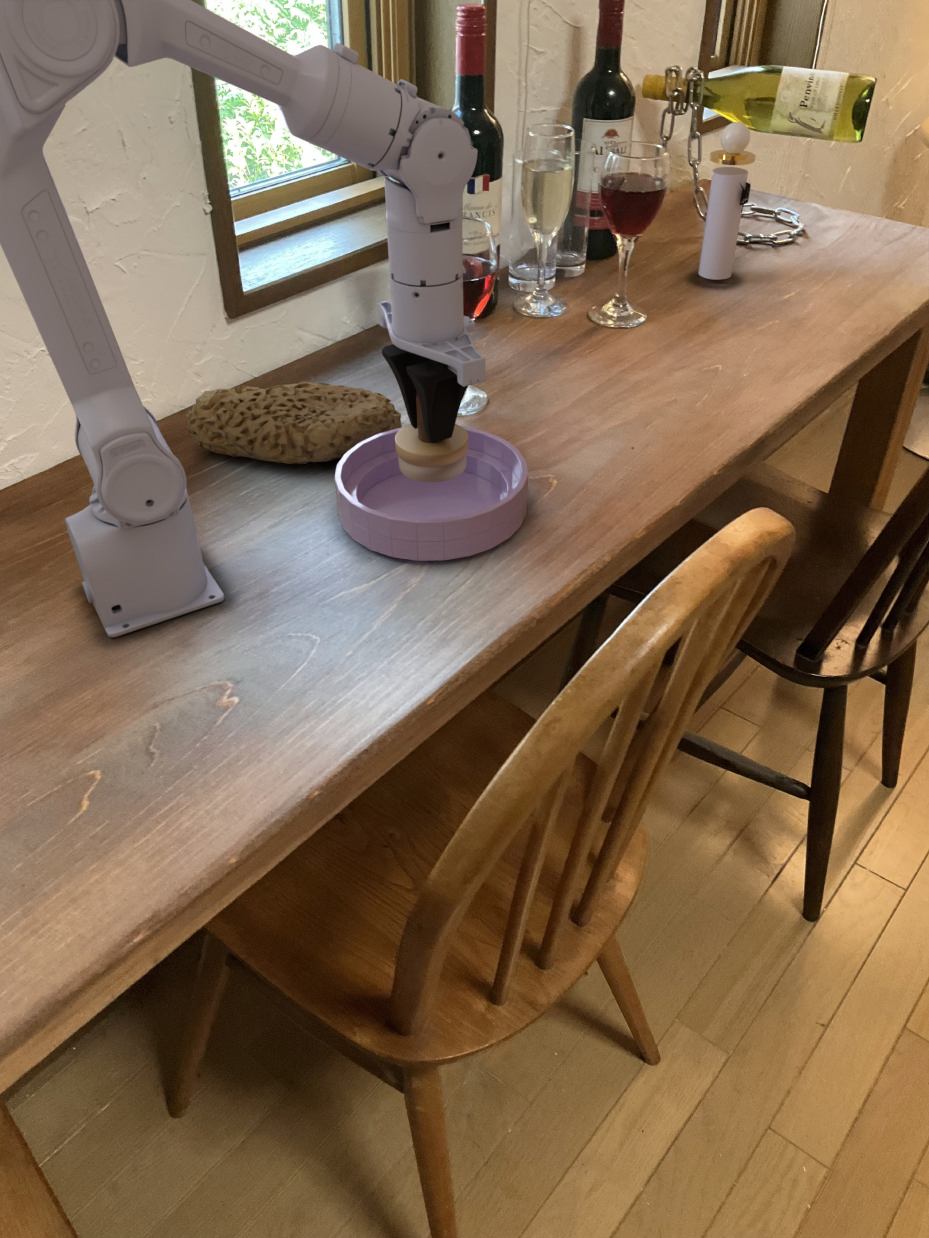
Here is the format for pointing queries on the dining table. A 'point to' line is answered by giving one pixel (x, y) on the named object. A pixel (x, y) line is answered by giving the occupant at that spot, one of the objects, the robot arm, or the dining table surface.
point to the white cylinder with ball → (725, 203)
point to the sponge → (289, 421)
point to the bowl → (431, 500)
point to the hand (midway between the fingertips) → (431, 431)
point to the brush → (430, 452)
